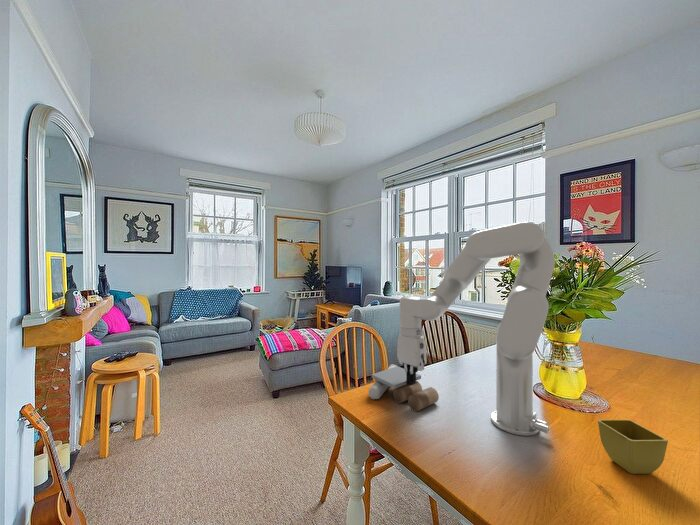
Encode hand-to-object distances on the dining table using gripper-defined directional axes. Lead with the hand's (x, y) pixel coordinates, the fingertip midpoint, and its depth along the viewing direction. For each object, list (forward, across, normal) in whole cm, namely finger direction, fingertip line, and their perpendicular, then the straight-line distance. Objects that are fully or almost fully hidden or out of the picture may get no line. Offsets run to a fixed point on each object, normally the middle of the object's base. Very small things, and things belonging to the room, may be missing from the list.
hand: (411, 383), depth 101 cm
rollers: (+6, -2, 0) cm, 6 cm away
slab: (0, +7, 0) cm, 7 cm away
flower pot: (+7, -54, -16) cm, 56 cm away
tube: (+6, +14, 0) cm, 15 cm away
